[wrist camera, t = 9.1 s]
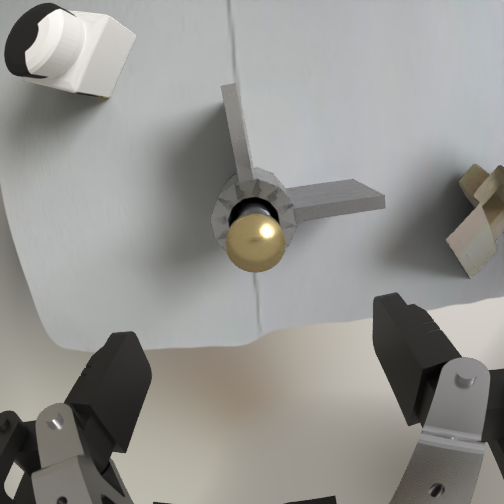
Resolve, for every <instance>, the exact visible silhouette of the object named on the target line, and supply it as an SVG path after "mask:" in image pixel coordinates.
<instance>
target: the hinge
mask: <svg viewBox="0 0 504 504" xmlns="http://www.w3.org/2000/svg"><path fill="white" fill-rule="evenodd" d="M221 90H222V96H223V101H224V106H225V111H226V116H227V122H228V127H229V132H230V137H231V143H232V148H233V153H234V158H235V163H236V169H237V173H236V174H235V175H233V176H232V177H231V178H230V179H229V180H228V181H226V183H225V185H224V187H223V188H222V190H221V192H220V194H219V195H218V197H217V201H216V204H215V206H214V209H213V212H212V215H211V218H210V219H211V224H212V228H213V232H214V237H215V240H216V241H217V242H218V243H219V244H220V245H221V247H222V248H223V249H224V250H225V251H226V238H227V234H228V230H229V228H230V226H231V225H232V224H233V222H234V221H235V220H236V219H238V218H239V213H240V211H239V210H238V209H237V208H236V204H237V203H238V202H239V201H241V200H242V199H245V198H251V197H259V198H262V199H265V200H267V201H269V202H270V203H271V204H272V206H271V208H270V213H271V217H272V218H273V219H275V220H276V221H277V222H278V224H279V225H280V226H281V228H282V231H283V234H284V237H285V248H286V247H288V246H289V244H290V242H291V239H292V237H293V234H294V232H295V230H296V227H297V222H299V221H305V220H312V219H318V218H324V217H331V216H337V215H344V214H350V213H357V212H363V211H370V210H377V209H384V208H385V195H383V194H381V193H379V192H377V191H376V190H374V189H372V188H370V187H368V186H366V185H364V184H362V183H360V182H358V181H356V180H354V179H350V180H343V181H335V182H328V183H321V184H314V185H307V186H301V187H294V188H288V189H285V187H284V186H283V185H282V184H281V182H280V181H279V180H278V179H277V177H276V176H275V175H274V174H273V173H271V172H269V171H266V170H263V169H260V168H257V167H255V168H253V163H252V157H251V152H250V146H249V141H248V135H247V130H246V125H245V119H244V114H243V109H242V104H241V98H240V95H239V92H238V89H237V86H236V84H235V83H234V84H228V85H223V86H221ZM226 252H227V251H226Z"/></svg>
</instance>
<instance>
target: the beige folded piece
mask: <svg viewBox="0 0 504 504" xmlns="http://www.w3.org/2000/svg"><path fill="white" fill-rule="evenodd" d="M459 185H460V186H461V189H462V190H463V192H464V194H465V196H466V198H467V199H468V200H469V201H470V202H471V204H472V205H473V206H474V207H475V209H474V210H473V211H472V212H471V213H470V215H469V216H467V218H466V219H465V220H464V221H463V222H462V223H461V224H460V225H459V227H457V228H456V230H455V231H454V232H453V233H451V234H450V236H449V237H448V238H447V239H446V241H447V243H449V246H450V247H451V249H452V251H454V253H455V255H456V257H458V258H457V259H458V260H459V261H460V263H461V265H462V266H463V267H464V270H465V271H466V272H467V274H468V276H469V278H471V277H472V276H474V275H475V274H476V273H477V272H478V271H479V270H480V269H481V268H482V267H483V266H484V265H485V264H486V263H487V262H488V261H489V259H490V258H491V257H492V256H493V255H494V254H495V253H496V252H497V247H496V244H495V241H496V240H497V238H498V237H499V236H500V235H501V234H502V233H503V232H504V167H503V166H501V165H500V166H498V167H497V168H496V169H495V170H494V171H493V172H492V173H491V174H490V175H489V174H488V173H487V172H486V171H484V170H483V169H482V168H481V167H479V166H478V165H477V164H474V165H472V166H471V167H470V169H469V170H468V171H467V172H466V173H465V174H464V176H463V177H462V178H461V179H460V180H459Z"/></svg>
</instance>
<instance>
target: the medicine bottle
mask: <svg viewBox="0 0 504 504" xmlns="http://www.w3.org/2000/svg"><path fill="white" fill-rule="evenodd" d="M135 39H136V35H135V34H134V33H132V32H131V31H130V30H128V29H127V28H126V27H124V26H123V25H121V24H120V23H119V22H117V21H116V20H115V19H113V18H112V17H110V16H109V15H104V14H97V13H89V12H79V11H67V10H65V9H63V8H61V7H59V6H57V5H56V4H53V3H43V4H40V5H37V6H35V7H33V8H32V9H30V10H29V11H27V12H26V13H25V14H23V15H22V16H21V17H20V18H19V20H18V21H17V22H16V23H15V25H14V26H13V28H12V30H11V31H10V34H9V36H8V38H7V41H6V45H5V52H4V57H5V63H6V66H7V68H8V70H9V71H10V72H11V73H12V74H13V75H16V76H21V77H22V80H23V81H25V82H30V83H34V84H39V85H43V86H47V87H51V88H56V89H59V90H63V91H67V92H71V93H76V94H83V95H89V96H95V97H101V98H110V97H111V95H112V92H113V90H114V87H115V85H116V82H117V80H118V77H119V75H120V72H121V70H122V68H123V65H124V63H125V61H126V59H127V56H128V54H129V52H130V50H131V48H132V46H133V43H134V41H135Z"/></svg>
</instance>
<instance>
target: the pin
mask: <svg viewBox="0 0 504 504" xmlns="http://www.w3.org/2000/svg"><path fill="white" fill-rule="evenodd" d="M226 251H227V254H228V256H229V258H230V260H231V261H232V262H233V263H234V264H235V265H236V266H237V267H239V268H240V269H242V270H245V271H248V272H263V271H266V270H269V269H271V268H272V267H274V266H275V265H276V264H277V263H278V262H279V261H280V260H281V258H282V256H283V254H284V251H285V237H284V234H283V231H282V228H281V226H280V225H279V224H278V222H277V221H276V220H275V219H273V218H272V217H271V213H270V208H269V203H268V201H267V200H265V199H262V198H259V197H251V198H245V199H242V202H241V208H240V213H239V218H238V219H236V220H235V221H234V222H233V224H232V225H231V226H230V228H229V230H228V234H227V238H226Z"/></svg>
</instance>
